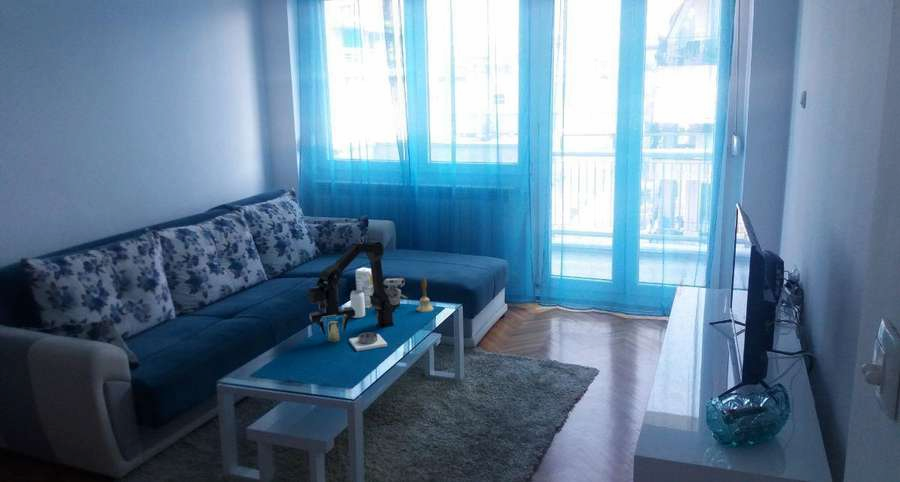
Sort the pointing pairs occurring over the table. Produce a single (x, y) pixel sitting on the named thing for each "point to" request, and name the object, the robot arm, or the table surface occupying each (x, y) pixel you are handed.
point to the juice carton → (365, 284)
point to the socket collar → (367, 338)
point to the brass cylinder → (333, 331)
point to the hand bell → (424, 299)
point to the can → (358, 303)
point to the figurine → (394, 290)
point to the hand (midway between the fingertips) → (333, 333)
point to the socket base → (367, 346)
